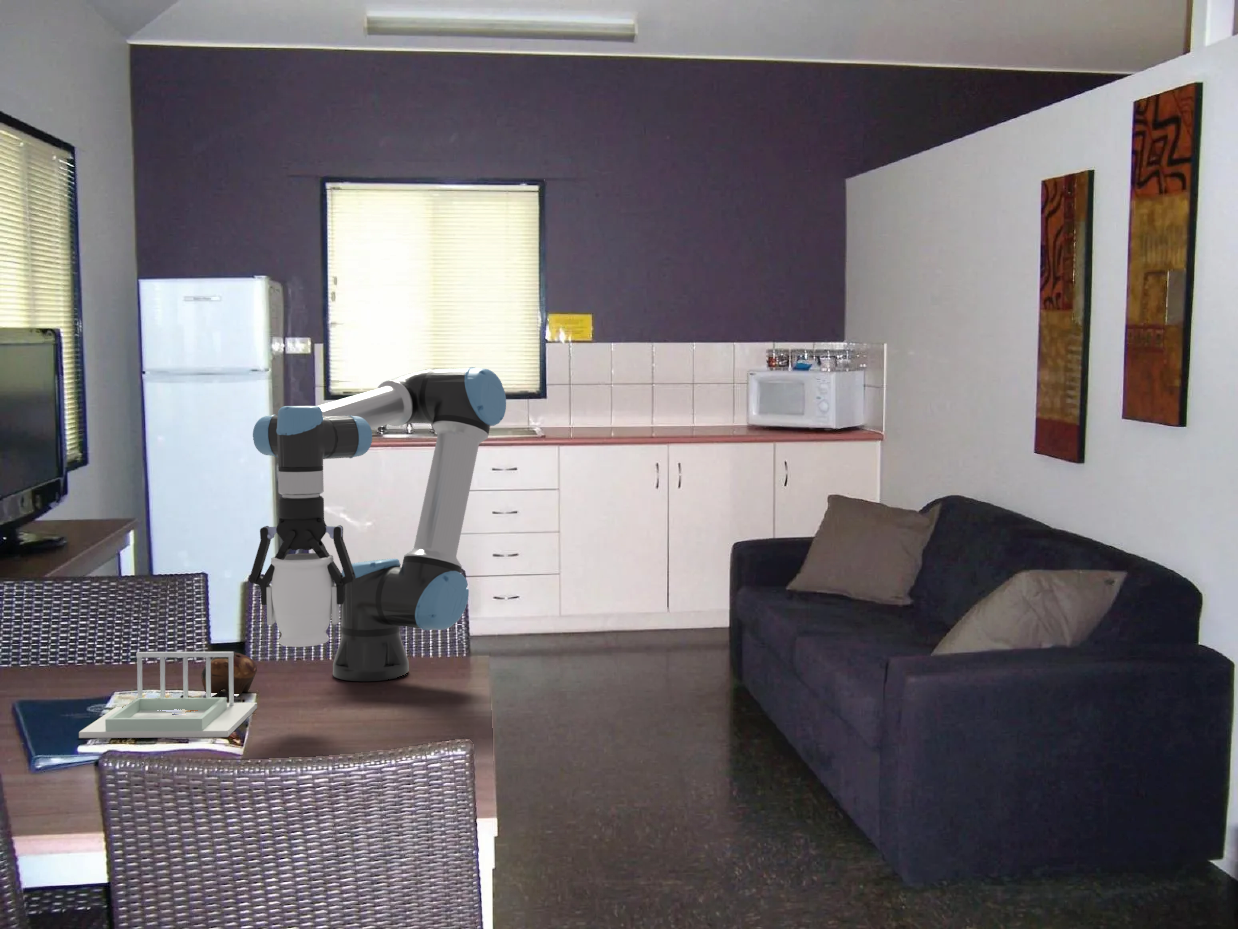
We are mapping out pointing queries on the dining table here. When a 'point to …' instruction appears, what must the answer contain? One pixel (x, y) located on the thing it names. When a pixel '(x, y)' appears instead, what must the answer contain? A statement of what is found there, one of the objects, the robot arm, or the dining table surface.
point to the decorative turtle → (241, 669)
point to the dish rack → (149, 722)
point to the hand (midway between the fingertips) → (303, 623)
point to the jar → (302, 598)
